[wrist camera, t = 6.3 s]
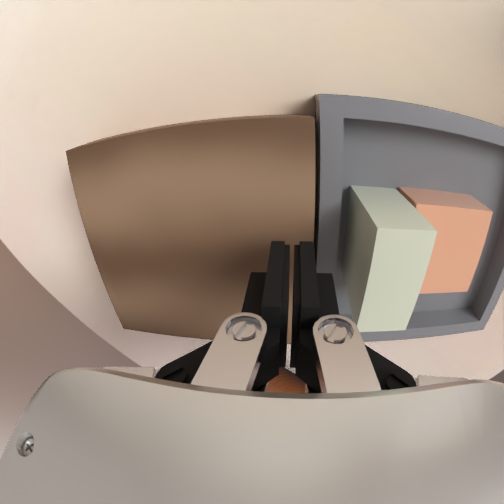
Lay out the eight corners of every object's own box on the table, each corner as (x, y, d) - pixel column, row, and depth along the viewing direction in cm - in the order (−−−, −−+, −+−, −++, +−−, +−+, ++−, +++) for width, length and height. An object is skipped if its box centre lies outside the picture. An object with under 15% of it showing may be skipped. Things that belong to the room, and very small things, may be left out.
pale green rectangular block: (377, 228, 9) (437, 231, 8) (350, 185, 13) (395, 188, 13) (355, 332, 11) (405, 330, 11) (341, 269, 16) (381, 269, 15)
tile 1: (493, 211, 10) (469, 194, 12) (416, 203, 11) (398, 186, 13) (467, 291, 12) (450, 267, 14) (396, 294, 13) (384, 268, 15)
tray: (314, 95, 11) (319, 93, 10) (520, 135, 9) (540, 143, 8) (308, 321, 18) (309, 342, 17) (473, 312, 16) (483, 329, 15)
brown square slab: (98, 139, 14) (65, 151, 11) (309, 114, 12) (314, 117, 9) (140, 301, 20) (123, 328, 17) (305, 310, 18) (305, 344, 15)
